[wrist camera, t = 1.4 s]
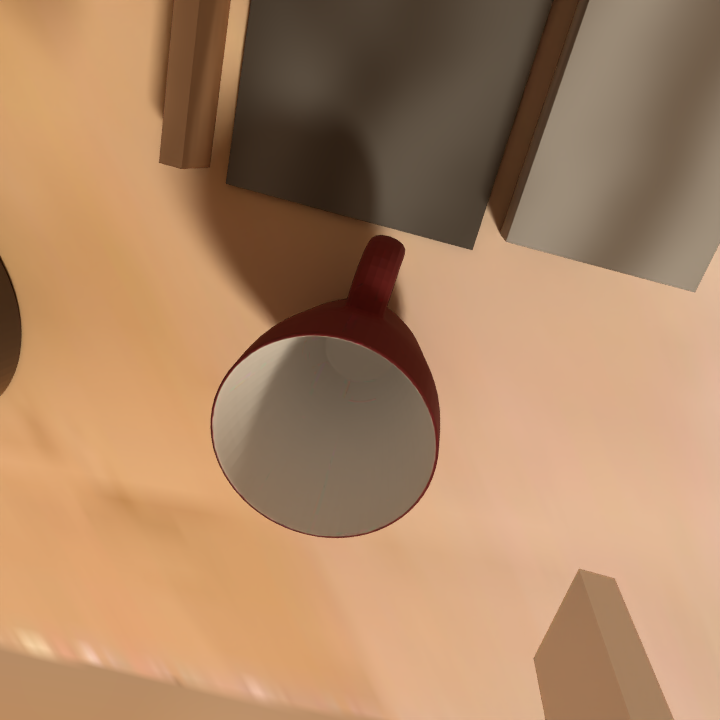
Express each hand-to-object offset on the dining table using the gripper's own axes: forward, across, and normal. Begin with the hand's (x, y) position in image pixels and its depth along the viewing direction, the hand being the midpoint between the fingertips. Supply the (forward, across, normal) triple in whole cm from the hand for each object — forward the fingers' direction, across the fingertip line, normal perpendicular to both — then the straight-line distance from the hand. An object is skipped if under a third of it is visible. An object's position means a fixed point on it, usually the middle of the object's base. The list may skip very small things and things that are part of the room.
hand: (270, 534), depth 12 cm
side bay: (+17, +2, +12) cm, 20 cm away
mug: (+17, 0, 0) cm, 17 cm away
